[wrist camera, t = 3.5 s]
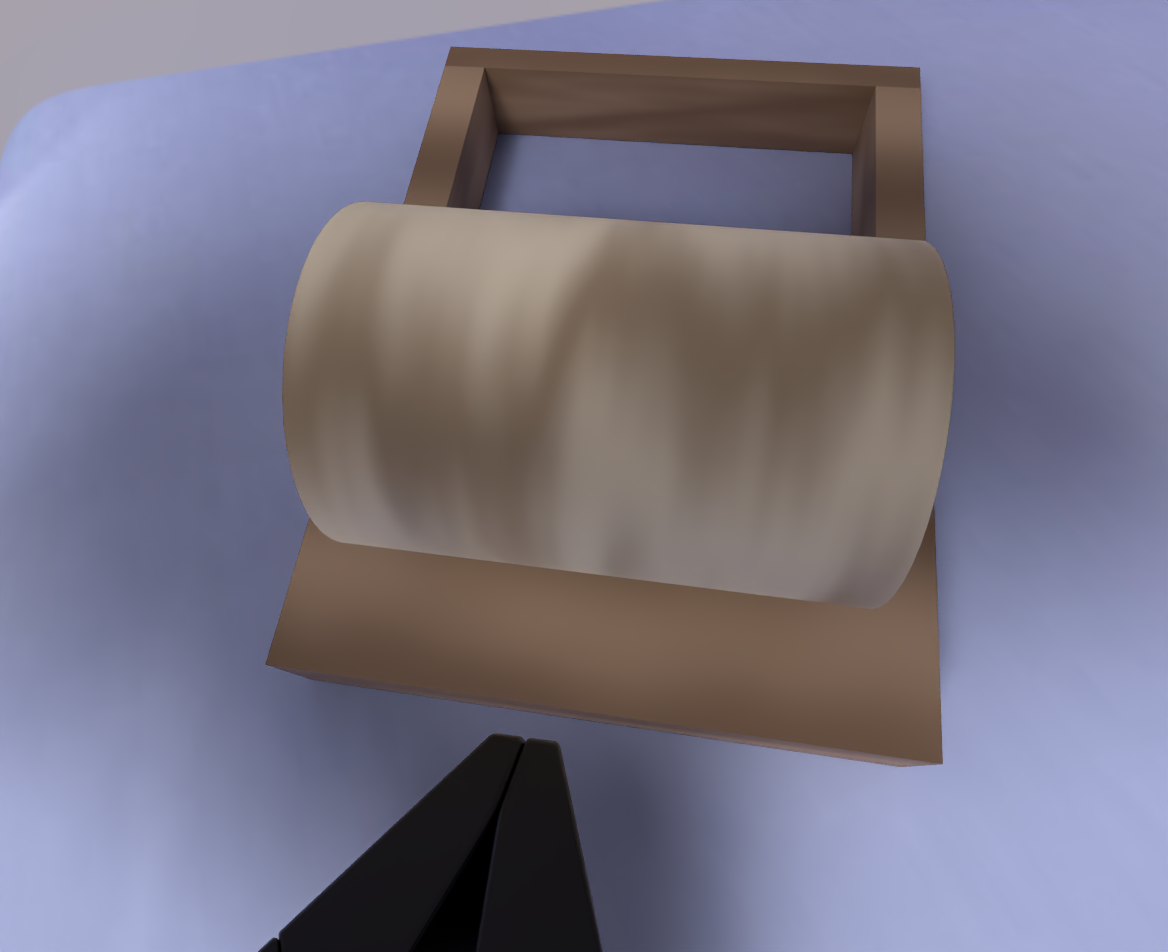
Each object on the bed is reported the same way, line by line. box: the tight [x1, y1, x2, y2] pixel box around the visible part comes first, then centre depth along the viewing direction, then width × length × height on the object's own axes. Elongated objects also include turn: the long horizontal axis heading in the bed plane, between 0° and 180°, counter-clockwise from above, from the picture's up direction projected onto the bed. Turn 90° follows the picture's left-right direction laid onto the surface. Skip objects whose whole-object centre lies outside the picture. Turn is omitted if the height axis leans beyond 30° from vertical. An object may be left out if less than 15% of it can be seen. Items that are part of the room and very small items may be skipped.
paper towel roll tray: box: [266, 47, 943, 767], centre depth 24 cm, size 23×17×3 cm
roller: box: [282, 201, 955, 609], centre depth 17 cm, size 8×12×8 cm, turn 82°
